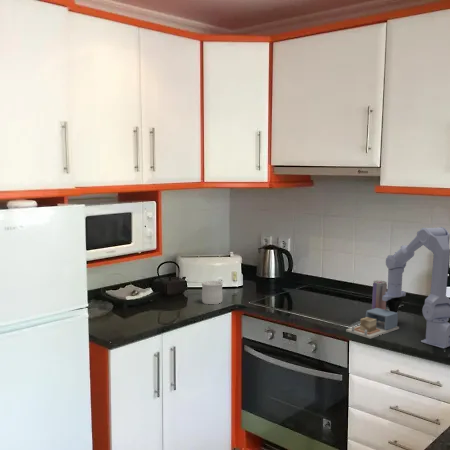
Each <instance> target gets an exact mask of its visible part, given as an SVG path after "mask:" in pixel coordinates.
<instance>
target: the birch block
mask: <svg viewBox="0 0 450 450" xmlns="http://www.w3.org/2000/svg"><path fill="white" fill-rule="evenodd" d="M359 321H360V322H359V325H360V330H362V331H365V330H367V332H372V331H375V330H376V321H377V320H376V319H373V318H369V317H366V316H365V317H362V318H360V320H359Z"/></svg>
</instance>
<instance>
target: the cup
mask: <svg viewBox="0 0 450 450" xmlns="http://www.w3.org/2000/svg"><path fill="white" fill-rule="evenodd" d="M201 285H202V288H201V289H202V292H201V302H202V304H204V305H208V304H214V305H220V304H222V303H221V302H223V297H224V296H223V286H224V285H223V282H222V281H220V280H206V281H203V282H201ZM219 303H220V304H219Z"/></svg>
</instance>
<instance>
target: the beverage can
mask: <svg viewBox="0 0 450 450" xmlns="http://www.w3.org/2000/svg"><path fill="white" fill-rule="evenodd" d="M387 288H388V281H385V280H378V279H377V280H373V283H372V297H371V299H372V301H371V309H374V308H380V309H384V310H387V302H386V301H383V300H382V296H384V295H385V292H387Z"/></svg>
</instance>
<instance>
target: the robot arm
mask: <svg viewBox="0 0 450 450" xmlns="http://www.w3.org/2000/svg"><path fill="white" fill-rule="evenodd" d="M423 246H424V247H425V248H426V249H427V250H429V251H431V252H432V254H433V259H432V270H431V281H430V282H431V283H430V294H429V295H428V296H427V297H425V299H424V304H423V306H422V309H421V310H422V311H421V312H422V316H423V317H424V319H425V321H426V326H425V327H426V328H425V338H423V339H422V340H420V343H424V344H427V345H430V346H434V347H437V348H440V349H446V348H449V347H450V322H448V321H449V320H450V298H449V297H448V296H447V289H448V288H447V287H448V275H449V274H448V273H449V263H450V233H449V231H448V229H446V227H443V226H439V227H422V228H420V229H419V230H418V231H417V232H416V236H415V237H414V238H413V239H412V240H411V241H410V243H408V244H404V245H403V244H402V245H400V248H399V249H398V250H396V251H395V252H394V254H392V255H390V254H389V255H387V257H386V258H385V266H386V267H387V269H388V270H387V272H388V273H387V292H385V295H384V296H382V300H383V301H386V305H387V306H388V309H389V310H388V311H392V312H396V313H398V310H399V308H400V305H401V304H402V302H403V298H401V297H406V294H407V293H406V291H404V290H402V289H403V286H402V285H403V273H404V272H405V268H406V266H407V263H408V262H409V261H410V260H411V259H412V258H413V257H414V256H415V252H416V251H417V250H418V249H421V247H423Z"/></svg>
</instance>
